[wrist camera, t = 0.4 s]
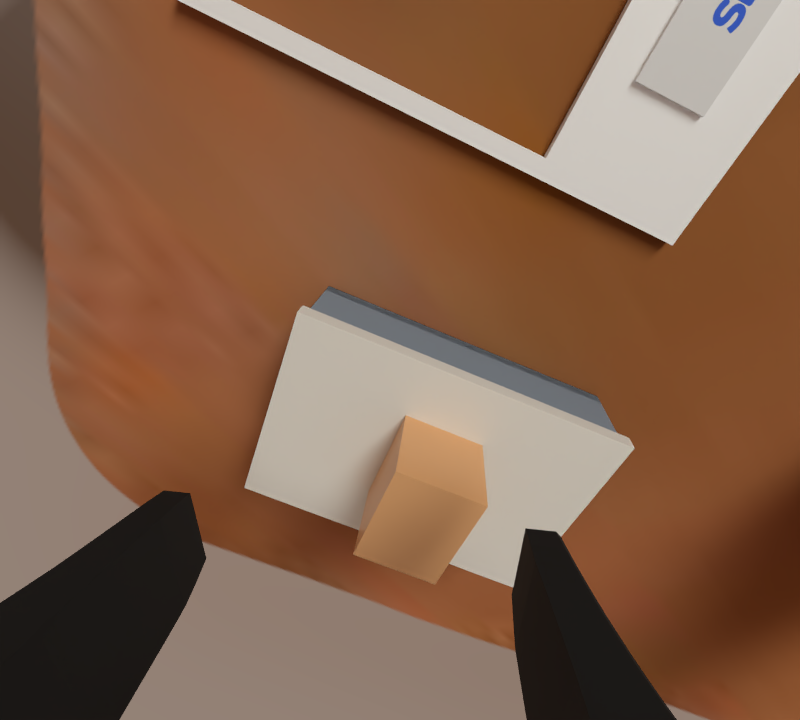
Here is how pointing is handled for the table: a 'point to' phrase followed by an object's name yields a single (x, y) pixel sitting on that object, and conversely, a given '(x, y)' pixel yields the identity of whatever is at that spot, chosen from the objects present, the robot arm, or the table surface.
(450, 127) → the photo frame
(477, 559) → the lid
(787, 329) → the table surface
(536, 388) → the tub
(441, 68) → the table surface
